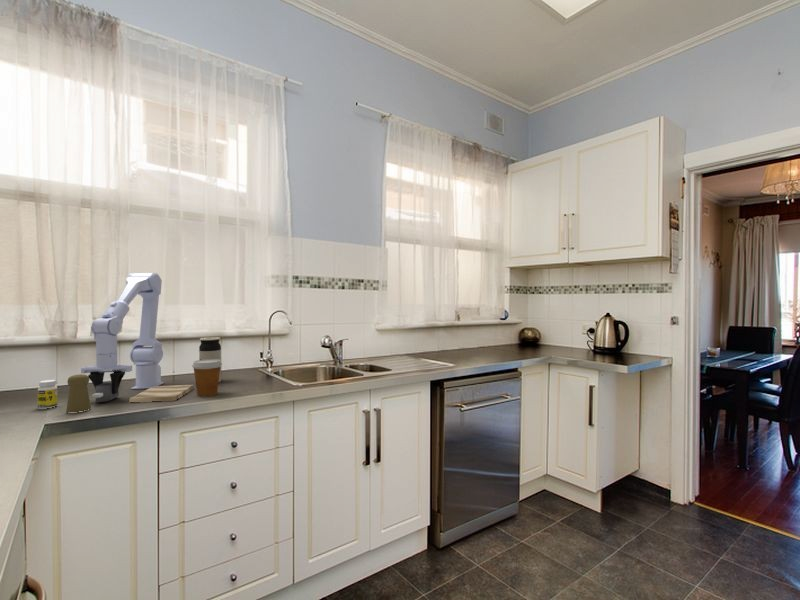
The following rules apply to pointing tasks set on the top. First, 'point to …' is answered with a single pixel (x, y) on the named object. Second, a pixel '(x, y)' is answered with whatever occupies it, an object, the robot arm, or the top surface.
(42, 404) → the supplement bottle
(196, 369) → the disposable coffee cup
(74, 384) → the cork
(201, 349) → the travel mug
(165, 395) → the wooden board
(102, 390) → the connector
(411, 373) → the top surface
